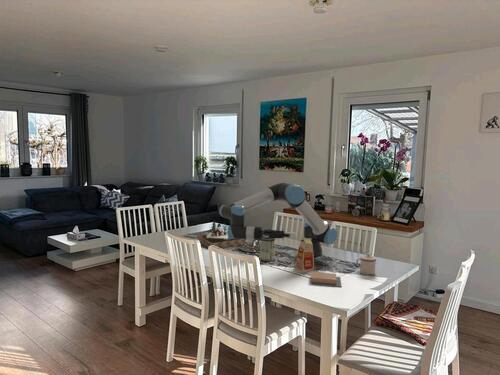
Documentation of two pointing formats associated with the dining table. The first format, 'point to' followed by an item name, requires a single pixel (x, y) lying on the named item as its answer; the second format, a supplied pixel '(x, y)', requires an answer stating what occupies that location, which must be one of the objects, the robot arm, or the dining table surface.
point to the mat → (329, 284)
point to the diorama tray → (221, 244)
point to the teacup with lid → (367, 264)
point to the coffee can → (267, 249)
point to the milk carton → (305, 255)
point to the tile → (323, 278)
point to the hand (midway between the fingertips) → (295, 235)
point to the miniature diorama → (218, 234)
